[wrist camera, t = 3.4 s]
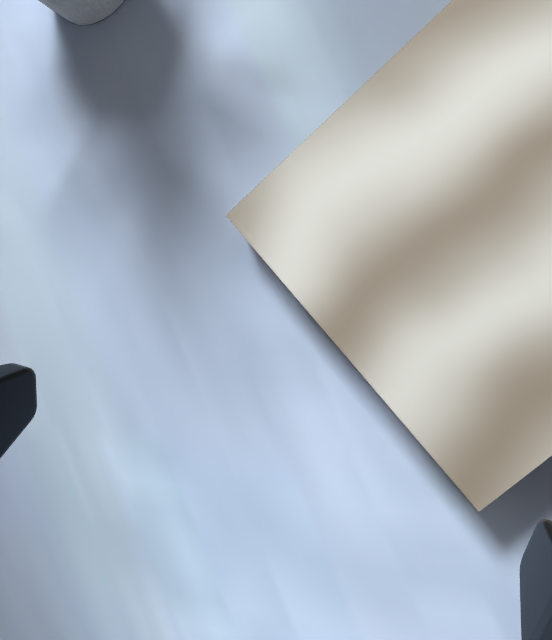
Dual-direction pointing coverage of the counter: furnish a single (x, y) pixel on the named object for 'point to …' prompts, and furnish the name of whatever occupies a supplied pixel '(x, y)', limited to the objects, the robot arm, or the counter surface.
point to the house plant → (83, 9)
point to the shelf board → (435, 237)
